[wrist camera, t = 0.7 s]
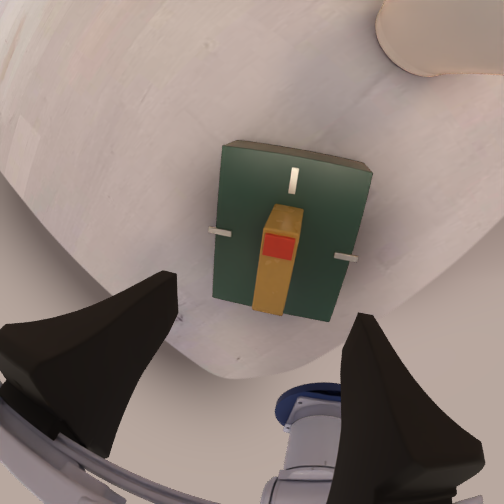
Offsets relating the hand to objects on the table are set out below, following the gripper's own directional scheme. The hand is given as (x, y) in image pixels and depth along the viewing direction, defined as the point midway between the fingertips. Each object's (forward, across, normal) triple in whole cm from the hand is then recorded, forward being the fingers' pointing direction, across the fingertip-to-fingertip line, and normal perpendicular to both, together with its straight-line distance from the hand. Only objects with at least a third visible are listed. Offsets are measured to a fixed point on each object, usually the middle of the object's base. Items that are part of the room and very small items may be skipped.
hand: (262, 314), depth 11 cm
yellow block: (+6, 0, 0) cm, 6 cm away
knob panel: (+9, 0, 0) cm, 9 cm away
